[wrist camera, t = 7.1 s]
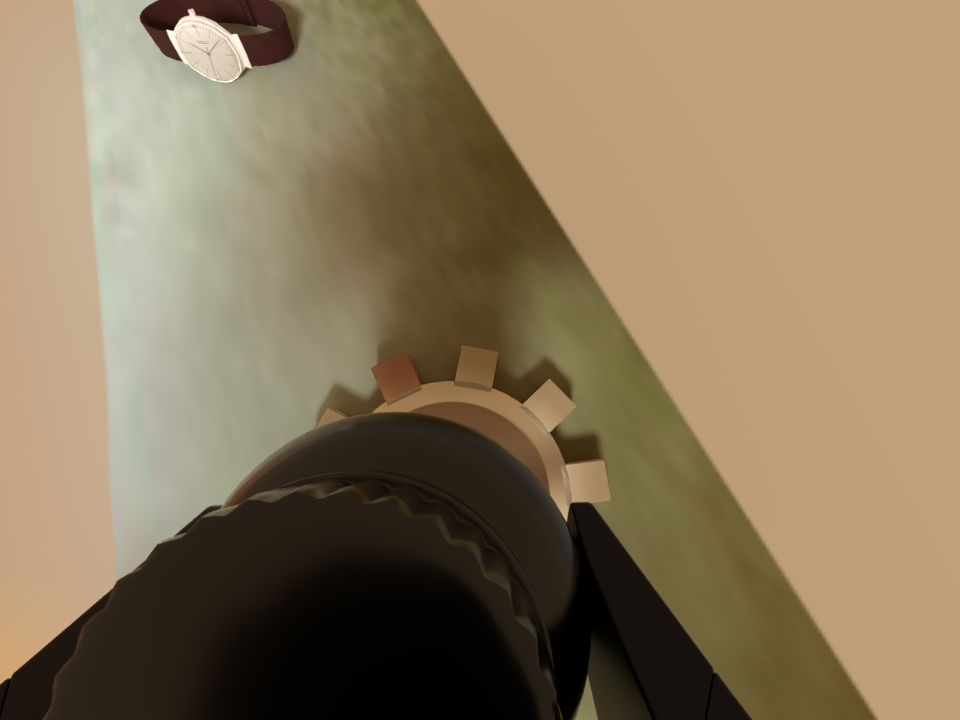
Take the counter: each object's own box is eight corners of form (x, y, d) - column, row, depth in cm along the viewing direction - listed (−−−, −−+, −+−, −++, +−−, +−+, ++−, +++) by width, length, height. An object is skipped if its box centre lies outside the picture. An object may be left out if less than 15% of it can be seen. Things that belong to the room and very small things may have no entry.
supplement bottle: (549, 443, 16) (739, 451, 4) (520, 653, 15) (670, 1443, 3) (359, 410, 16) (45, 333, 5) (314, 615, 15) (-260, 1224, 3)
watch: (160, 82, 26) (109, 26, 23) (176, 11, 27) (129, -54, 23) (294, 91, 26) (263, 36, 22) (306, 19, 27) (278, -45, 23)
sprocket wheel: (655, 574, 21) (667, 583, 20) (375, 717, 21) (368, 738, 19) (519, 305, 24) (521, 296, 22) (261, 424, 23) (247, 424, 21)
